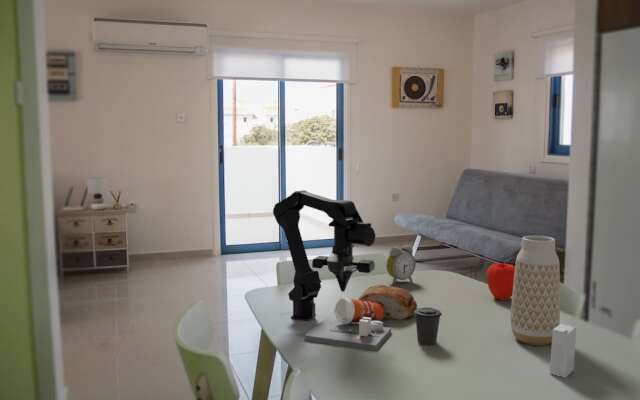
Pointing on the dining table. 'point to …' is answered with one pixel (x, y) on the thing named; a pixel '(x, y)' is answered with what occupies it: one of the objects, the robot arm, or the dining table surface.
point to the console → (348, 334)
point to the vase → (536, 291)
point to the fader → (365, 326)
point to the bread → (391, 301)
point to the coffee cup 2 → (427, 325)
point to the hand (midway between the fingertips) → (343, 291)
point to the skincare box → (563, 350)
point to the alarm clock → (401, 263)
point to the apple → (501, 280)
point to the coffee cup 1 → (357, 310)
